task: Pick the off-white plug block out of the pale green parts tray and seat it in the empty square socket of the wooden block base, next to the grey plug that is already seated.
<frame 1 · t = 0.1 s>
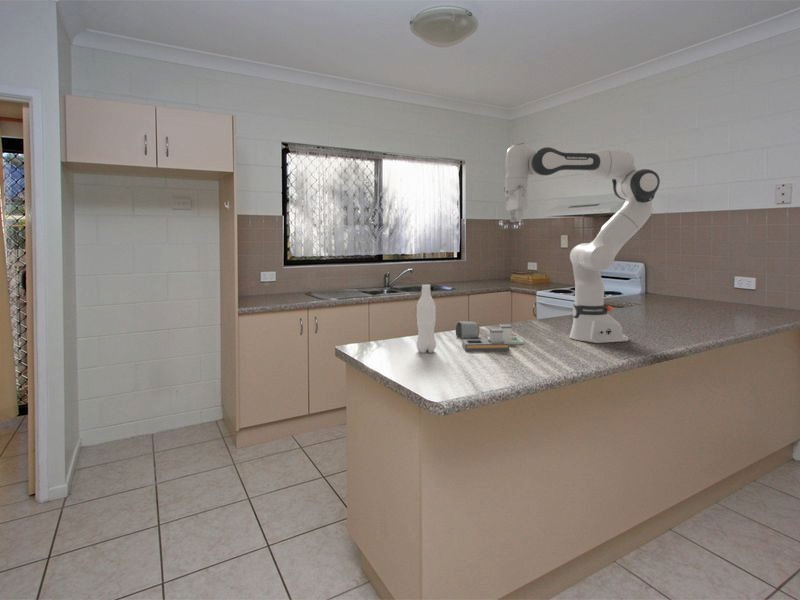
hand: (515, 221, 196), 48 cm above the countertop, tool pointing down, fingers open, 8 cm apart
ceramic mug: (465, 339, 205), on the countertop
twin plug: (495, 348, 184), point 1 cm above the countertop, touching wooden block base
tray: (505, 343, 195), on the countertop
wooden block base: (485, 350, 184), on the countertop
water bottle: (426, 352, 183), on the countertop
plug: (505, 342, 195), resting on tray
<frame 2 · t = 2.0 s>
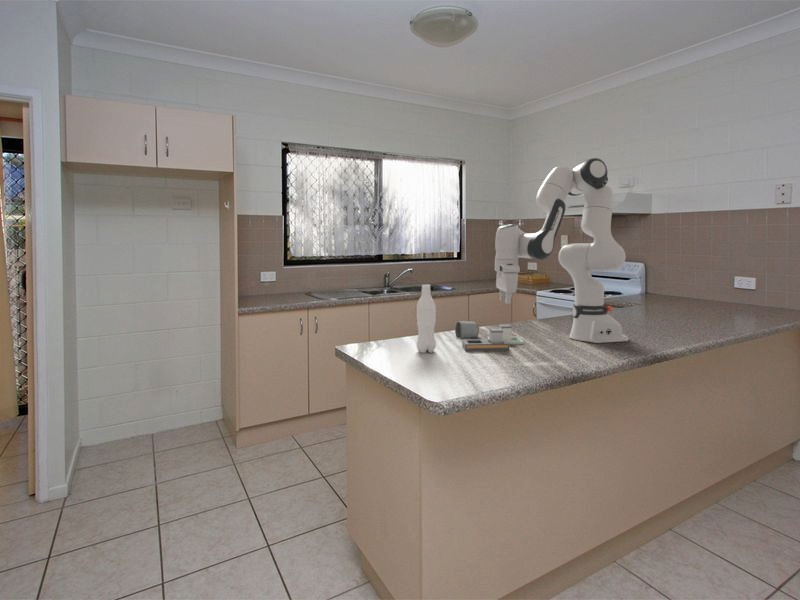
hand: (505, 302, 192), 17 cm above the countertop, tool pointing down, fingers open, 8 cm apart
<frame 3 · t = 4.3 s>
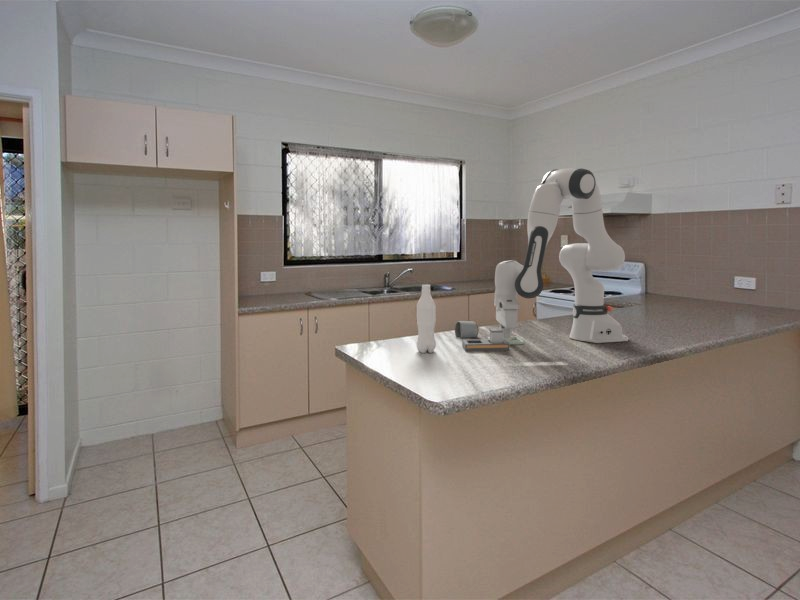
hand: (505, 336, 194), 3 cm above the countertop, tool pointing down, fingers closed on plug, 4 cm apart
plug: (505, 342, 195), resting on tray, touching gripper
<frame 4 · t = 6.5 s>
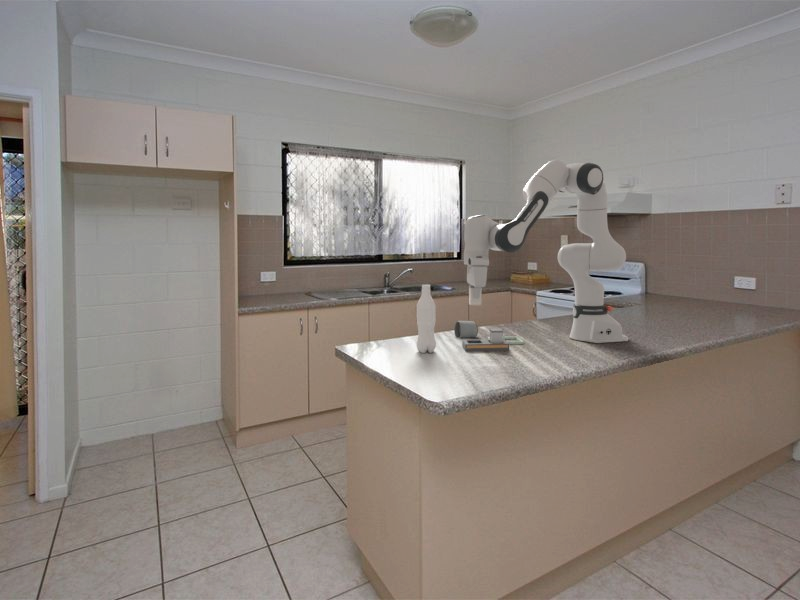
hand: (475, 297, 181), 20 cm above the countertop, tool pointing down, fingers closed on plug, 4 cm apart
plug: (475, 304, 181), point 18 cm above the countertop, touching gripper
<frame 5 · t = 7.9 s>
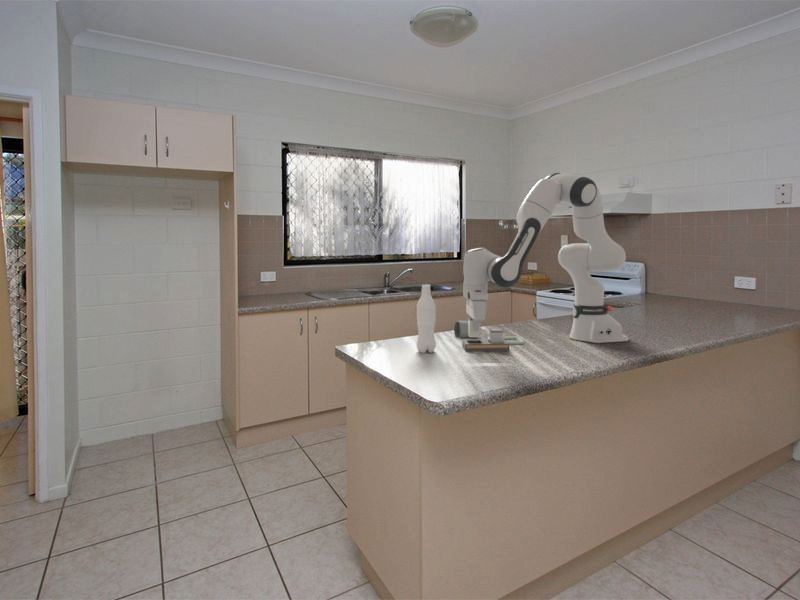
hand: (474, 329, 182), 8 cm above the countertop, tool pointing down, fingers closed on plug, 4 cm apart
plug: (474, 336, 183), point 6 cm above the countertop, touching gripper
when the fingers open (5 cm above the countertop, at t = 8.8 s): plug drops 1 cm, resting on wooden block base.
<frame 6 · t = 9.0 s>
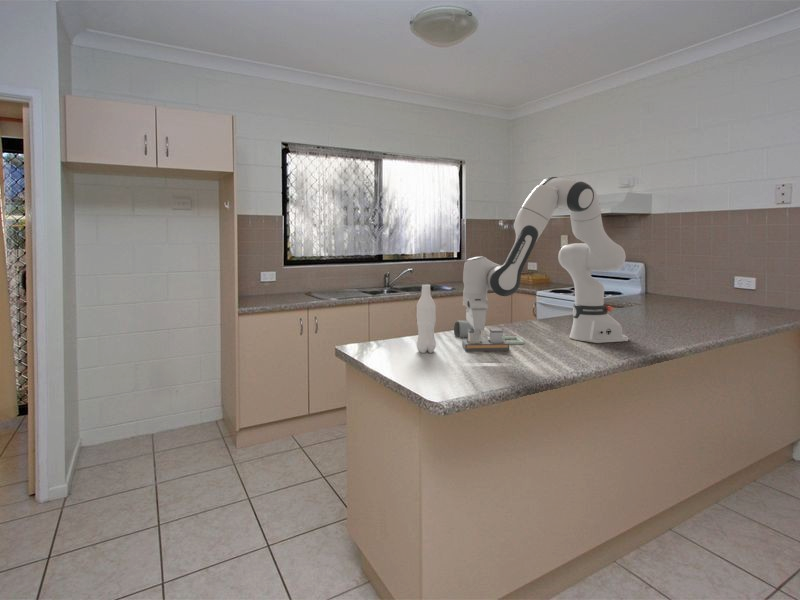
hand: (474, 337, 183), 5 cm above the countertop, tool pointing down, fingers open, 6 cm apart
plug: (474, 348, 183), point 1 cm above the countertop, touching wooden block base
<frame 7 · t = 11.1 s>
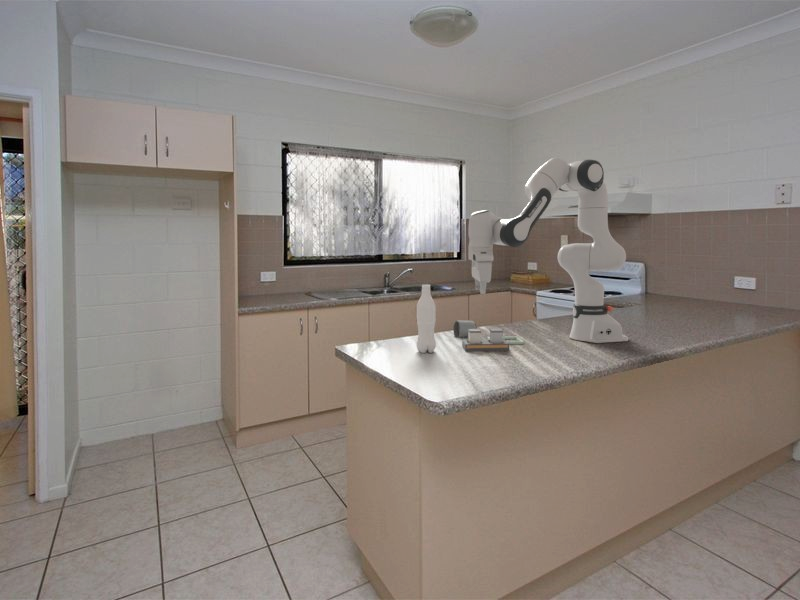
hand: (480, 291, 184), 22 cm above the countertop, tool pointing down, fingers open, 8 cm apart
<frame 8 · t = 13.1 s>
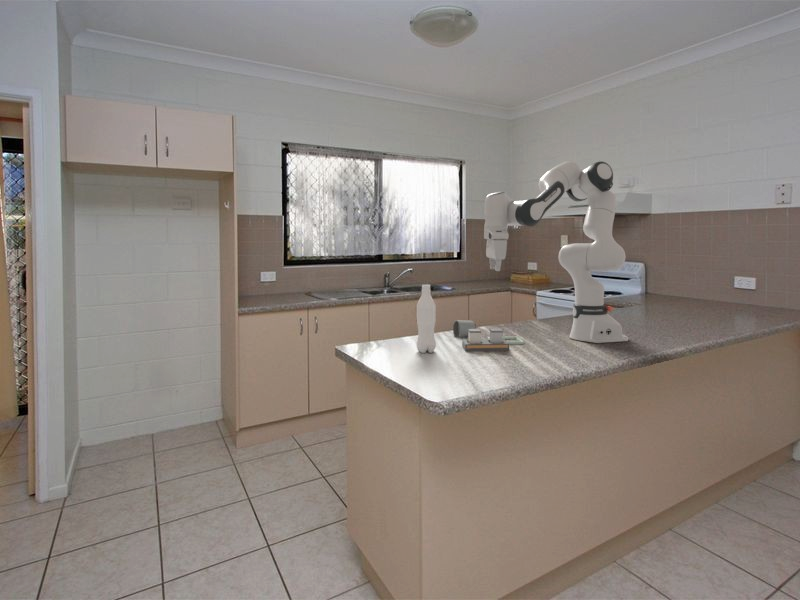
hand: (495, 270, 193), 29 cm above the countertop, tool pointing down, fingers open, 8 cm apart
at the end: plug 0.0 cm from the target spot on the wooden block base, point 1.0 cm above the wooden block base's base; plug tilted 0°; the gripper is holding nothing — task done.
